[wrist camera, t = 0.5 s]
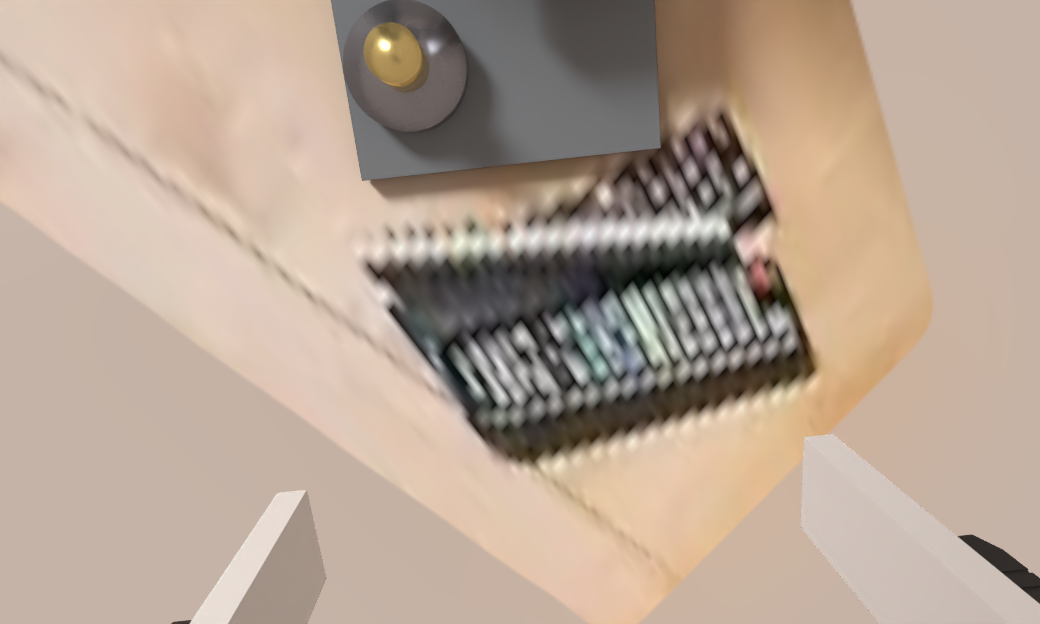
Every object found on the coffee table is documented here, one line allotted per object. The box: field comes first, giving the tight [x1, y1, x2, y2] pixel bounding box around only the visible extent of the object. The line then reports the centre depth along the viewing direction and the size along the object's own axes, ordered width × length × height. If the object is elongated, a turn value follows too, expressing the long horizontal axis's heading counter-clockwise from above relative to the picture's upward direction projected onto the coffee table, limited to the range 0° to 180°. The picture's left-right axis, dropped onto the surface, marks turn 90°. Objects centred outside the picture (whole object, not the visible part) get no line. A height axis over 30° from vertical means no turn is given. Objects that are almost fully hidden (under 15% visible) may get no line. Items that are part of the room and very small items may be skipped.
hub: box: [343, 0, 468, 133], centre depth 31 cm, size 7×7×6 cm
